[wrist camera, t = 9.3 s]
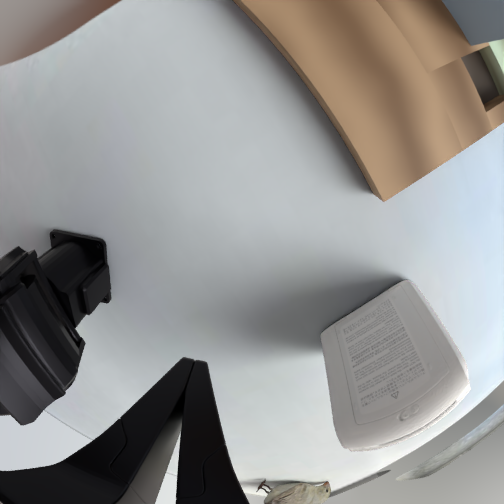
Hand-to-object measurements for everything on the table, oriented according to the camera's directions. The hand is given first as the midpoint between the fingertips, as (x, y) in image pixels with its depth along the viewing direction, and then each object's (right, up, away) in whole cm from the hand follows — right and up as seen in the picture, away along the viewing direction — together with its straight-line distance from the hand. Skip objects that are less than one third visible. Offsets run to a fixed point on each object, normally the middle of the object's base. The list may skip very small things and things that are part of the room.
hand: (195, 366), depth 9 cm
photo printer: (+13, -2, +15) cm, 20 cm away
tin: (+20, +23, 0) cm, 30 cm away
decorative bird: (+11, -45, +35) cm, 58 cm away
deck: (+14, +20, +4) cm, 25 cm away
